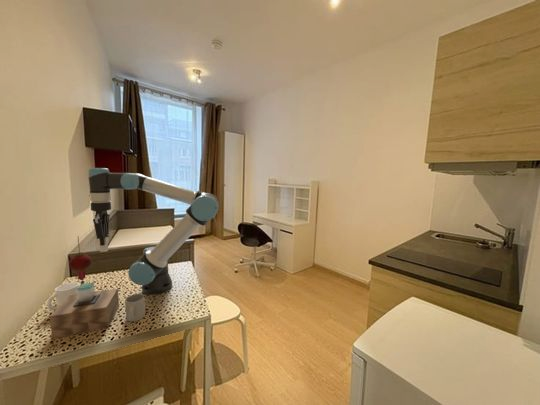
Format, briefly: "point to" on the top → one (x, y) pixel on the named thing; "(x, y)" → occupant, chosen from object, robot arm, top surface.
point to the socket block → (84, 314)
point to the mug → (63, 294)
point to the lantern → (80, 264)
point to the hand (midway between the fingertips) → (103, 251)
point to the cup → (135, 307)
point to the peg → (86, 292)
